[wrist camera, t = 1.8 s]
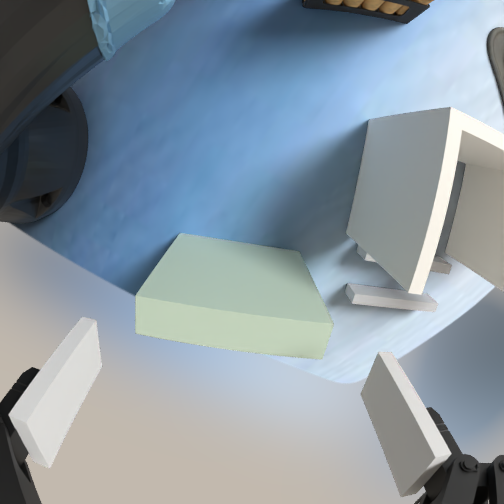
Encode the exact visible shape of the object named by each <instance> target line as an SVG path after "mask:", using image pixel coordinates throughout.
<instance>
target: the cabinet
mask: <svg viewBox="0 0 504 504" xmlns="http://www.w3.org/2000/svg"><path fill="white" fill-rule="evenodd" d="M457 161H460V162H462V163H465V164H466V166H465V172H464V177H463V182H462V187H461V191H460V196H459V200H458V205H457V209H456V213H455V217H454V221H453V225H452V228H451V232H450V236H449V239H448V243H447V246H446V250H445V253H446V254H447V255H449V256H451V257H452V258H454V259H455V260H457V261H458V262H460V263H462V264H463V265H465V266H466V267H468V268H469V269H471V270H472V271H474V272H475V273H477V274H478V275H480V276H481V277H483V278H484V279H485V280H487V281H488V282H490V283H491V284H493V285H494V286H496V287H497V288H498V289H500V290H501V291H503V292H504V134H502V133H501V132H499V131H497V130H495V129H493V128H492V127H490V126H488V125H486V124H484V123H482V122H480V121H478V120H477V119H475V118H473V117H471V116H469V115H467V114H465V113H462V112H460V111H458V110H456V109H454V108H452V107H447V108H439V109H431V110H424V111H417V112H410V113H403V114H397V115H391V116H385V117H380V118H374V119H369V121H368V127H367V133H366V139H365V145H364V150H363V155H362V161H361V166H360V171H359V176H358V181H357V186H356V190H355V195H354V200H353V204H352V209H351V213H350V217H349V222H348V226H347V230H346V234H347V235H348V236H349V237H351V238H352V239H353V240H354V241H355V242H356V243H357V244H358V247H357V250H356V252H357V253H358V254H359V255H360V256H361V257H362V258H363V259H364V260H367V261H373V262H377V263H378V264H379V265H380V266H381V267H382V268H383V269H384V270H385V271H386V272H387V273H388V274H390V275H391V276H392V277H393V278H394V279H395V280H396V281H397V282H398V283H399V284H400V285H401V286H402V287H403V288H404V289H405V290H406V291H404V290H396V289H389V288H381V287H374V286H366V285H359V284H352V283H347V287H346V290H345V293H346V295H347V296H348V298H349V299H350V301H351V303H352V304H361V305H370V306H379V307H388V308H398V309H408V310H418V311H429V312H435V311H436V308H437V306H438V303H437V302H436V301H435V300H434V299H433V298H432V297H431V296H430V295H429V294H428V293H422V292H423V289H424V286H425V283H426V280H427V277H428V274H429V271H433V272H439V273H445V274H449V272H450V269H451V266H452V265H451V264H450V263H448V262H447V261H445V260H444V259H442V258H441V257H438V256H434V255H435V252H436V249H437V245H438V242H439V238H440V235H441V231H442V227H443V224H444V220H445V216H446V212H447V208H448V203H449V199H450V195H451V190H452V185H453V180H454V175H455V170H456V165H457Z"/></svg>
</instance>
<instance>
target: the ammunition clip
mask: <svg viewBox="0 0 504 504" xmlns="http://www.w3.org/2000/svg"><path fill="white" fill-rule="evenodd" d="M432 1H433V0H302V2H303V7H305V8H314V9H325V10H334V11H342V12H349V13H356V14H362V15H368V16H374V17H379V18H384V19H389V20H393V21H398V22H402V23H406V24H407V23H409V22H410V21H412V20H413V19H414V18H416V17H417V16H418V15H420V14H421V13H422V12H424V11H425V10H427V9H428V8H429V7H430V5H429V3H430V2H432Z"/></svg>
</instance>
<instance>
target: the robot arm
mask: <svg viewBox="0 0 504 504" xmlns="http://www.w3.org/2000/svg"><path fill="white" fill-rule="evenodd" d="M174 2H175V0H0V221H1V222H11V223H28V222H33V221H36V220H38V219H40V218H43V217H45V216H47V215H49V214H51V213H53V212H55V211H56V210H57V209H59V208H60V207H61V206H62V205H63V204H64V203H65V202H66V201H67V200H68V198H69V197H70V196H71V194H72V193H73V191H74V190H75V188H76V186H77V184H78V182H79V180H80V177H81V175H82V172H83V169H84V165H85V161H86V156H87V148H88V128H87V121H86V116H85V113H84V109H83V107H82V104H81V102H80V100H79V98H78V96H77V95H76V93H75V92H74V91H73V90H72V88H71V87H70V86H71V85H72V84H73V83H75V82H76V81H77V80H78V79H80V78H81V77H82V76H83V75H85V74H86V73H87V72H89V71H90V70H91V69H92V68H94V67H95V66H96V65H98V64H99V63H100V62H102V61H103V60H106V61H108V60H109V59H111V58H112V57H113V56H114V55H115V52H116V50H117V49H119V48H120V47H121V46H122V45H124V44H125V43H126V42H128V41H129V40H130V39H132V38H133V37H134V36H136V35H137V34H138V33H140V32H141V31H142V30H144V29H145V28H147V27H148V26H150V25H151V24H153V23H154V22H156V21H157V20H159V19H160V18H162V17H163V16H164V15H165V14H166V13H167V12H168V11H169V10H170V9H171V7H172V6H173V4H174ZM101 368H102V361H101V354H100V347H99V340H98V330H97V322H96V320H94V319H89V318H84V317H82V318H81V319H80V320H79V321H78V323H77V324H76V325H75V326H74V327H73V329H72V330H71V331H70V332H69V334H68V335H67V336H66V338H65V339H64V340H63V341H62V342H61V344H60V345H59V346H58V348H57V349H56V350H55V352H54V353H53V354H52V355H51V357H50V358H49V359H48V361H47V362H46V363H45V364H44V366H43V367H42V368H41V370H39V369H36V368H33V367H32V368H30V369H29V370H27V371H25V372H24V373H22V375H21V376H20V377H19V379H18V380H17V382H16V383H15V384H14V385H13V387H12V389H10V391H9V392H8V393H7V394H6V396H5V397H4V398H3V400H2V401H1V402H0V504H42V503H41V501H40V498H39V496H38V493H37V491H36V488H35V485H34V482H33V480H32V477H31V474H30V471H29V468H28V465H27V462H26V461H25V459H26V457H27V455H28V453H29V455H30V457H31V458H32V460H33V462H36V463H38V464H40V465H43V466H45V467H47V468H50V467H51V465H52V463H53V461H54V459H55V457H56V454H57V452H58V451H59V448H60V446H61V444H62V442H63V440H64V438H65V436H66V434H67V432H68V430H69V428H70V426H71V424H72V422H73V420H74V418H75V416H76V414H77V412H78V411H79V409H80V407H81V405H82V403H83V401H84V399H85V397H86V395H87V393H88V392H89V390H90V388H91V386H92V384H93V382H94V380H95V379H96V377H97V375H98V373H99V371H100V370H101ZM361 397H362V399H363V401H364V404H365V406H366V409H367V411H368V414H369V416H370V419H371V421H372V424H373V426H374V428H375V431H376V433H377V436H378V439H379V441H380V444H381V446H382V449H383V451H384V454H385V456H386V459H387V462H388V464H389V467H390V470H391V472H392V475H393V478H394V480H395V483H396V486H397V488H398V491H399V493H400V496H401V497H404V496H408V495H412V494H416V493H417V492H418V491H419V490H420V489H421V488H422V487H423V486H424V487H425V490H426V492H425V493H424V494H423V495H422V496H421V497H420V498H419V499H418V500H417V501H416V502H415V503H414V504H418V503H419V502H420V503H419V504H488V500H489V504H504V455H499V456H498V457H497V458H495V460H494V461H493V462H492V463H478V461H477V460H476V459H475V458H474V457H472V456H471V455H466V454H462V452H461V451H460V449H459V447H458V445H457V444H456V442H455V440H454V439H453V437H452V435H451V433H450V432H449V431H448V428H447V427H446V425H445V424H444V422H443V420H442V418H441V417H440V415H439V414H438V413H437V412H436V411H435V410H433V409H432V408H431V407H429V408H425V406H424V405H423V403H422V401H421V399H420V398H419V396H418V394H417V393H416V391H415V389H414V388H413V386H412V384H411V383H410V381H409V379H408V378H407V376H406V374H405V373H404V371H403V370H402V368H401V366H400V365H399V363H398V361H397V360H396V358H395V357H394V355H393V353H392V352H378V354H377V356H376V359H375V361H374V364H373V366H372V369H371V371H370V373H369V376H368V378H367V380H366V383H365V385H364V387H363V390H362V392H361Z"/></svg>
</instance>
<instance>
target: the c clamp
mask: <svg viewBox="0 0 504 504" xmlns="http://www.w3.org/2000/svg"><path fill="white" fill-rule="evenodd" d="M487 46H488V54H489V58H490V61H491V64H492V67H493V70H494V73H495V76H496V80H497V83H498V86H499V90H500V93H501V97H502V100H503V104H504V28H503V27H498V28H495V29H493V30H492V31H491V32H490V34H489V36H488V43H487Z"/></svg>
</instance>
